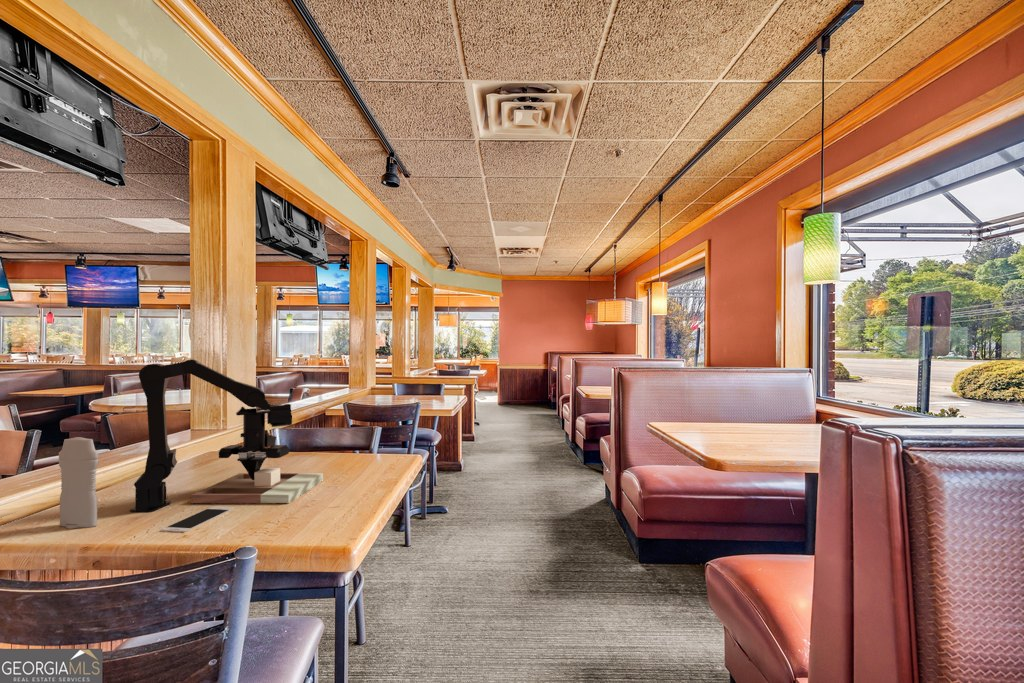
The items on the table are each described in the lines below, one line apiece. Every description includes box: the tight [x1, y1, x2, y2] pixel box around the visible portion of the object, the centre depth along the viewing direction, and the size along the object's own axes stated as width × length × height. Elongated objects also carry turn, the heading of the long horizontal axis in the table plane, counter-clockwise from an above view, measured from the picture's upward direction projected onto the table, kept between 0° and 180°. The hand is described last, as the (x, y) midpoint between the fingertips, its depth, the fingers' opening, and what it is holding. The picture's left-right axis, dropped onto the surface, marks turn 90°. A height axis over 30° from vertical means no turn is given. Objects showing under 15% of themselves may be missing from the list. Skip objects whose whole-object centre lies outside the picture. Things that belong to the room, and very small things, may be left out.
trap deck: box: [190, 472, 324, 504], centre depth 133 cm, size 21×28×2 cm
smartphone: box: [160, 505, 236, 533], centre depth 112 cm, size 7×16×1 cm, turn 172°
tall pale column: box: [58, 436, 99, 530], centre depth 109 cm, size 11×4×22 cm, turn 84°
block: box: [254, 467, 281, 486], centre depth 133 cm, size 5×5×4 cm
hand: (254, 479), depth 133 cm, fingers closed
